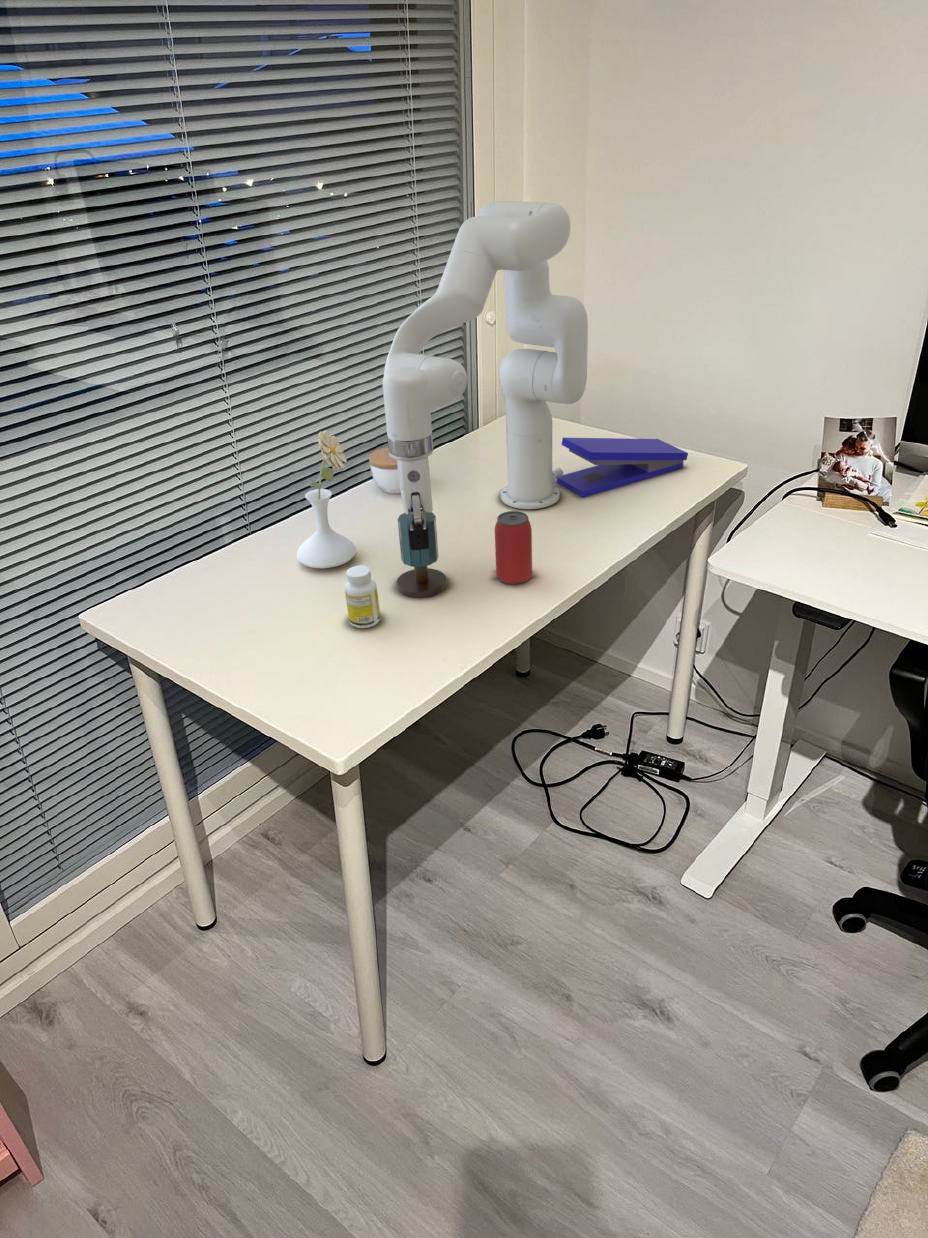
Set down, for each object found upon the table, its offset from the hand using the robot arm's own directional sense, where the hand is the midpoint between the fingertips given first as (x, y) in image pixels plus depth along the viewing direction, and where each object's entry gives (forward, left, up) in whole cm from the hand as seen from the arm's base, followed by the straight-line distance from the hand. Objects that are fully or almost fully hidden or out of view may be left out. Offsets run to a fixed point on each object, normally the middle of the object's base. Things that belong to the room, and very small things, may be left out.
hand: (418, 538), depth 170 cm
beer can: (-12, +12, -10) cm, 20 cm away
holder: (0, 0, -10) cm, 10 cm away
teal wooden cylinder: (0, 0, -4) cm, 4 cm away
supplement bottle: (+15, 0, -10) cm, 18 cm away
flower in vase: (+2, -22, -10) cm, 24 cm away
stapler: (-63, +4, -10) cm, 64 cm away
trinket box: (-30, -34, -10) cm, 46 cm away
